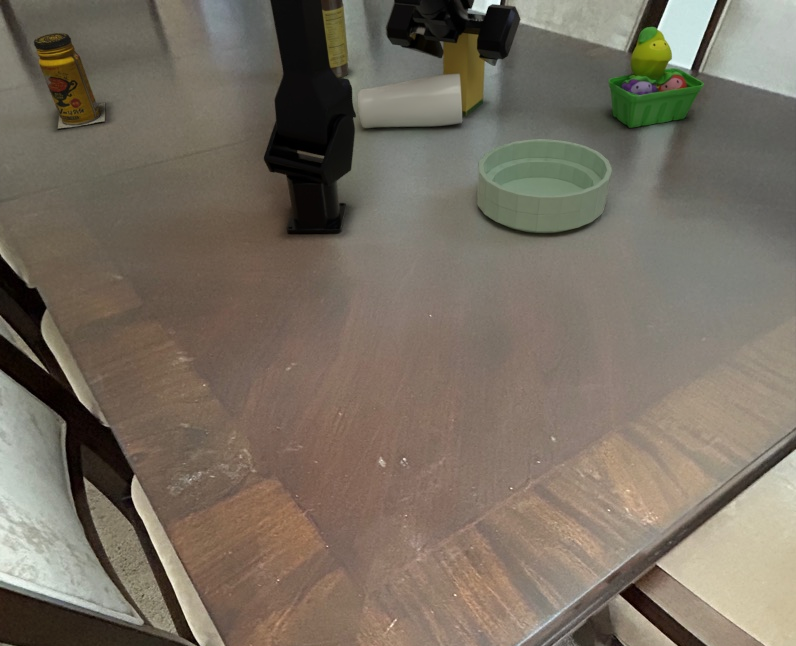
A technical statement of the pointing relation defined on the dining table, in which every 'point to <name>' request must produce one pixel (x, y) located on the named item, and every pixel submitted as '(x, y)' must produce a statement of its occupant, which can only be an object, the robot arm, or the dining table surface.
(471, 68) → the sponge
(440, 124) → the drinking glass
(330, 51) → the sauce bottle
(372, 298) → the dining table surface
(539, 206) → the bowl
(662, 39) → the fruit basket
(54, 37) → the condiment
